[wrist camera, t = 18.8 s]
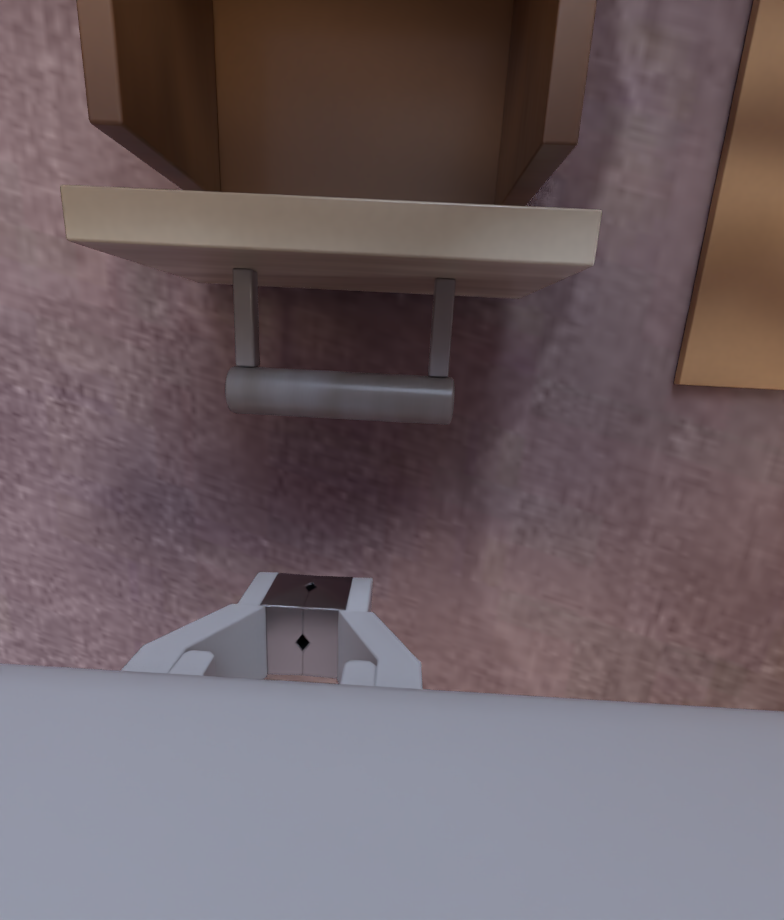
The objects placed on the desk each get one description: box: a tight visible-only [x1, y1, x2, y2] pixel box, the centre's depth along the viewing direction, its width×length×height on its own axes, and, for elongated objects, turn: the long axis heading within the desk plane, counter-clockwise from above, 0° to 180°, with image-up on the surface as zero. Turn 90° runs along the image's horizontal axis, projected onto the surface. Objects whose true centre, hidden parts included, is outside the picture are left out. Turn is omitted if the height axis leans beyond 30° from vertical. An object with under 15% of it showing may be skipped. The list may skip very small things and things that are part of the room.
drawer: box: [60, 0, 602, 425], centre depth 12 cm, size 21×12×7 cm, turn 177°
